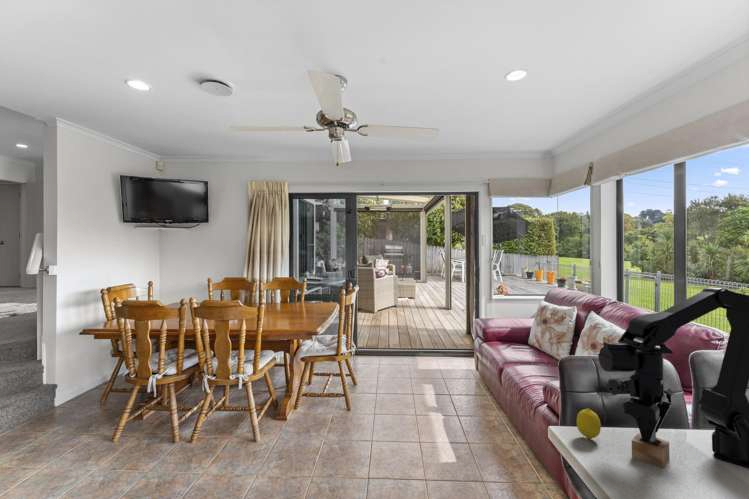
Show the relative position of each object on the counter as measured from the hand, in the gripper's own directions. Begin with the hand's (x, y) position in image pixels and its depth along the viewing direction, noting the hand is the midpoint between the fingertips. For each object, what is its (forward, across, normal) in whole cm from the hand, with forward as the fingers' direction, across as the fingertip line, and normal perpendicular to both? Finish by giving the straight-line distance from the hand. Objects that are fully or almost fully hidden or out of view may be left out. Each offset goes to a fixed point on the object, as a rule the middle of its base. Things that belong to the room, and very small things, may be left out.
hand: (650, 436), depth 86 cm
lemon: (+5, +2, -13) cm, 14 cm away
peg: (+5, 0, 0) cm, 5 cm away
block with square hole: (+5, 0, 0) cm, 5 cm away
